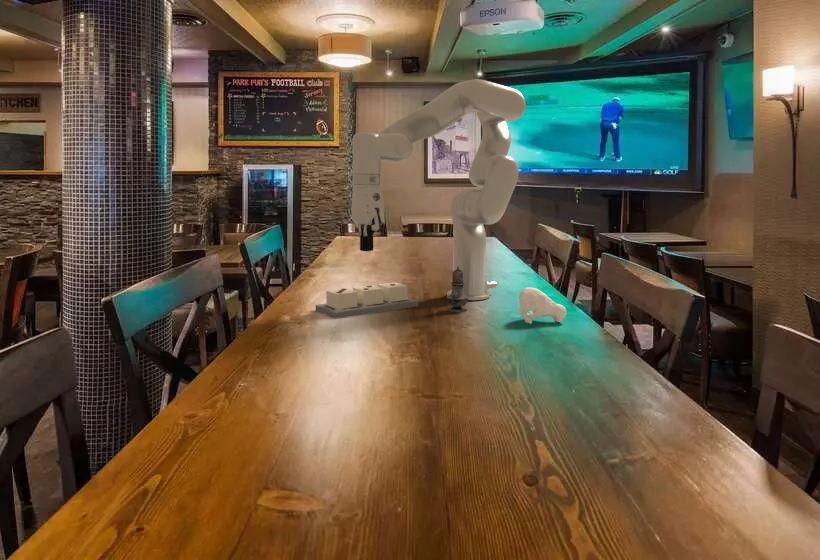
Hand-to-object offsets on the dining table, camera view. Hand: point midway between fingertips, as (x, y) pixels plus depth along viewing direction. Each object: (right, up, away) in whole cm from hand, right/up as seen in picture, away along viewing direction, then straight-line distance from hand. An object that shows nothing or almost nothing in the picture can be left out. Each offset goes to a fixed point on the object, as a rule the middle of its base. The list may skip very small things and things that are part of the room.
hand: (366, 250), depth 165 cm
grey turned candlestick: (+24, -16, +2) cm, 29 cm away
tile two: (0, -14, +3) cm, 14 cm away
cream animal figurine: (+45, -19, -10) cm, 49 cm away
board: (0, -16, +3) cm, 16 cm away
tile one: (+7, -13, +7) cm, 16 cm away
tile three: (-6, -15, -2) cm, 16 cm away
